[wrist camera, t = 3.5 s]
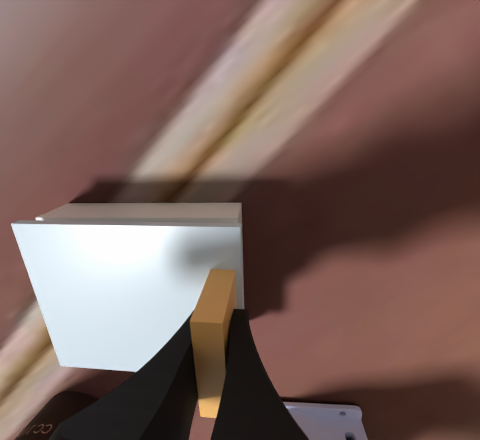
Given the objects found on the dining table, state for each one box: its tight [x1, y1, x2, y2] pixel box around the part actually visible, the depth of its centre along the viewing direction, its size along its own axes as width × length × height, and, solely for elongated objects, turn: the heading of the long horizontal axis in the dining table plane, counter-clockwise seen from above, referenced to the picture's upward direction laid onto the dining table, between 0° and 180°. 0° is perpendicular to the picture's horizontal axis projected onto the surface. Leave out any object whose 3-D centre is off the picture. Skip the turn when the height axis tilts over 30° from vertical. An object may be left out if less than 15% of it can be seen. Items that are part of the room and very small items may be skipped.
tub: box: [36, 203, 244, 299], centre depth 17 cm, size 11×9×3 cm
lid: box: [11, 220, 244, 418], centre depth 13 cm, size 11×9×5 cm
